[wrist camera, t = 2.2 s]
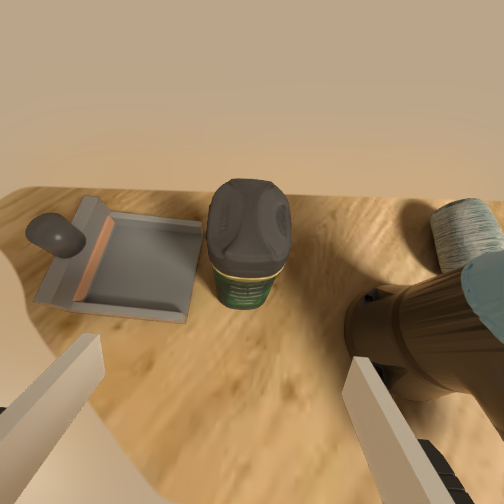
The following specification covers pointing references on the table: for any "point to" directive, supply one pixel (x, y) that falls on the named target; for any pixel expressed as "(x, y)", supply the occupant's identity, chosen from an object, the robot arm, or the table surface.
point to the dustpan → (118, 263)
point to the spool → (464, 232)
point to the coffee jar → (247, 240)
